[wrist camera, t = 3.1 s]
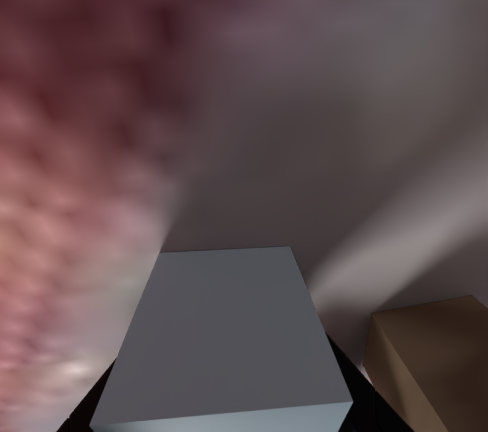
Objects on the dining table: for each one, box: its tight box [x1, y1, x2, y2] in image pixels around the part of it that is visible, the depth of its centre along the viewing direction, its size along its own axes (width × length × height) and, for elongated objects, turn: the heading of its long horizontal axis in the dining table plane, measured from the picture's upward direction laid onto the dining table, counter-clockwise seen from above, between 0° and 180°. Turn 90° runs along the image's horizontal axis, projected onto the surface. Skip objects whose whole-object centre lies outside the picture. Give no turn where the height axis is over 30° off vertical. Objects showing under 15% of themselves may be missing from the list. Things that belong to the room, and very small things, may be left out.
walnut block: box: [363, 295, 488, 432], centre depth 10 cm, size 5×5×5 cm
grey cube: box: [89, 246, 353, 432], centre depth 8 cm, size 5×5×5 cm
